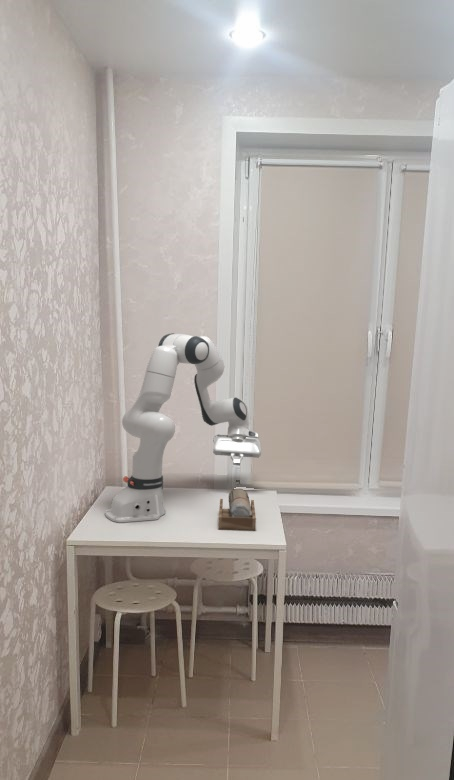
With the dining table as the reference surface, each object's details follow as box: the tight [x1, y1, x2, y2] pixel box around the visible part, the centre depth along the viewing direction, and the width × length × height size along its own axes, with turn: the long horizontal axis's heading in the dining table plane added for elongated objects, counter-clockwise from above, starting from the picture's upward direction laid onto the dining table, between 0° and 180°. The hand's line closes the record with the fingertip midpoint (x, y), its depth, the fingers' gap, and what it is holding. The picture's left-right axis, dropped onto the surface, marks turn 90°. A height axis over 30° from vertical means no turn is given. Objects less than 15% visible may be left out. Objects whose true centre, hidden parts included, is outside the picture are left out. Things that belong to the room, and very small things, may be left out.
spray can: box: [228, 488, 252, 517], centre depth 225 cm, size 8×8×20 cm
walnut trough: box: [217, 498, 257, 532], centre depth 223 cm, size 22×13×4 cm, turn 179°
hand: (236, 464), depth 250 cm, fingers closed
